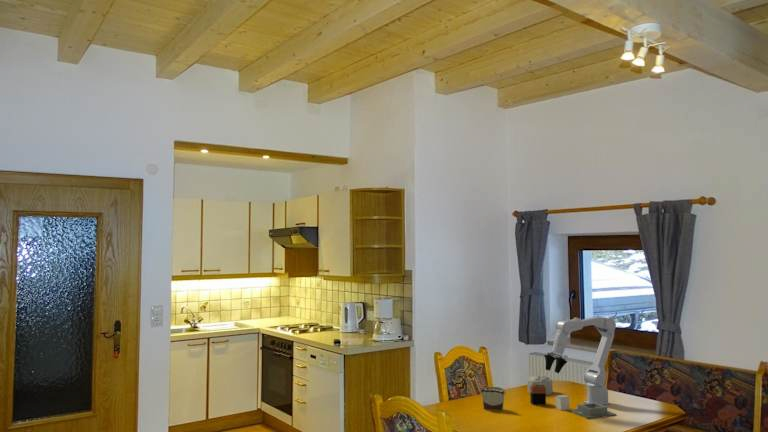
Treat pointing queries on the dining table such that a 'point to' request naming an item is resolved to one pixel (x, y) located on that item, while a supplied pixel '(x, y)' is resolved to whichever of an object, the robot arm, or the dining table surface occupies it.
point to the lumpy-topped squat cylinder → (543, 379)
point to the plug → (562, 402)
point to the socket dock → (592, 410)
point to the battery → (538, 394)
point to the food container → (493, 398)
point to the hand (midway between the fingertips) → (552, 371)
